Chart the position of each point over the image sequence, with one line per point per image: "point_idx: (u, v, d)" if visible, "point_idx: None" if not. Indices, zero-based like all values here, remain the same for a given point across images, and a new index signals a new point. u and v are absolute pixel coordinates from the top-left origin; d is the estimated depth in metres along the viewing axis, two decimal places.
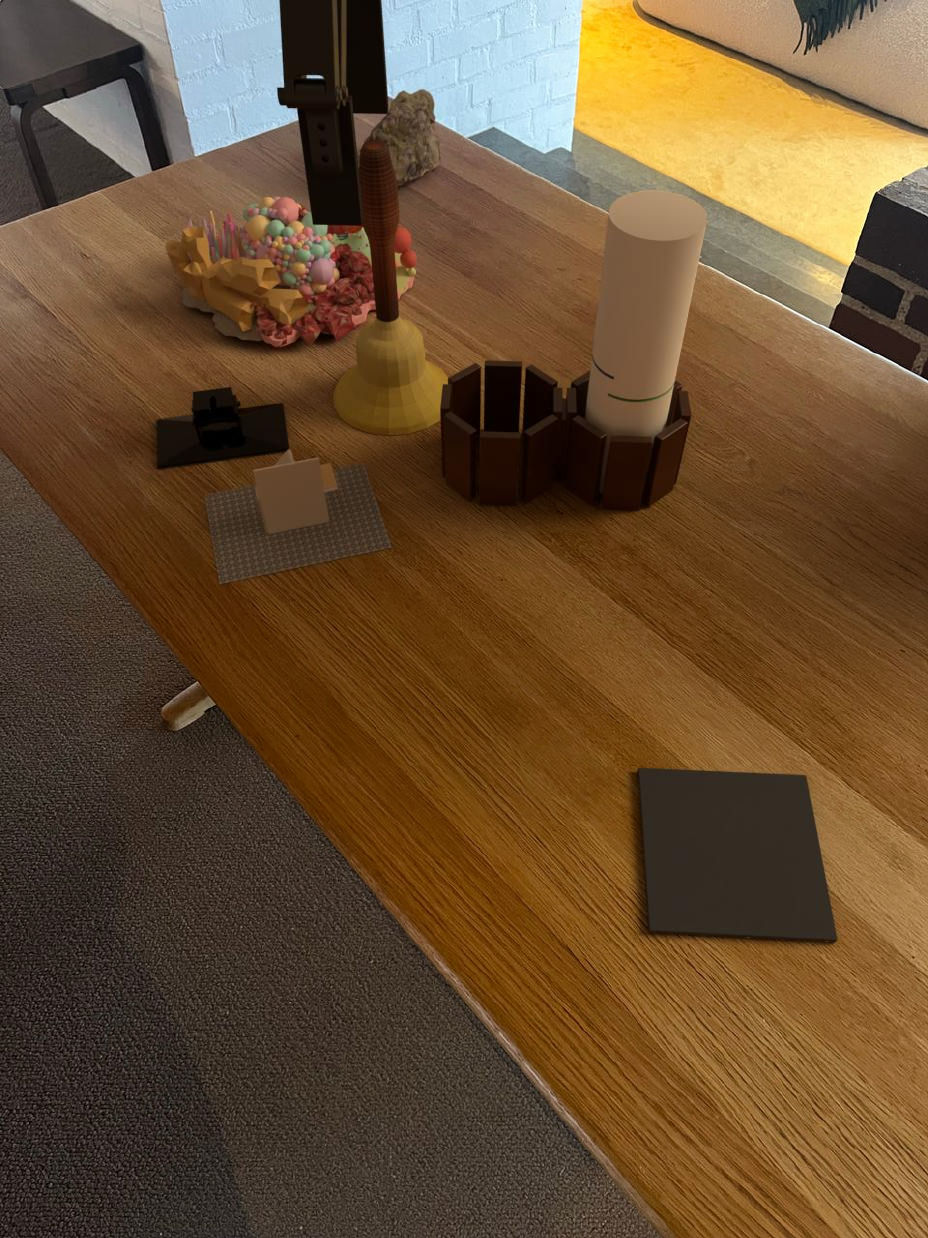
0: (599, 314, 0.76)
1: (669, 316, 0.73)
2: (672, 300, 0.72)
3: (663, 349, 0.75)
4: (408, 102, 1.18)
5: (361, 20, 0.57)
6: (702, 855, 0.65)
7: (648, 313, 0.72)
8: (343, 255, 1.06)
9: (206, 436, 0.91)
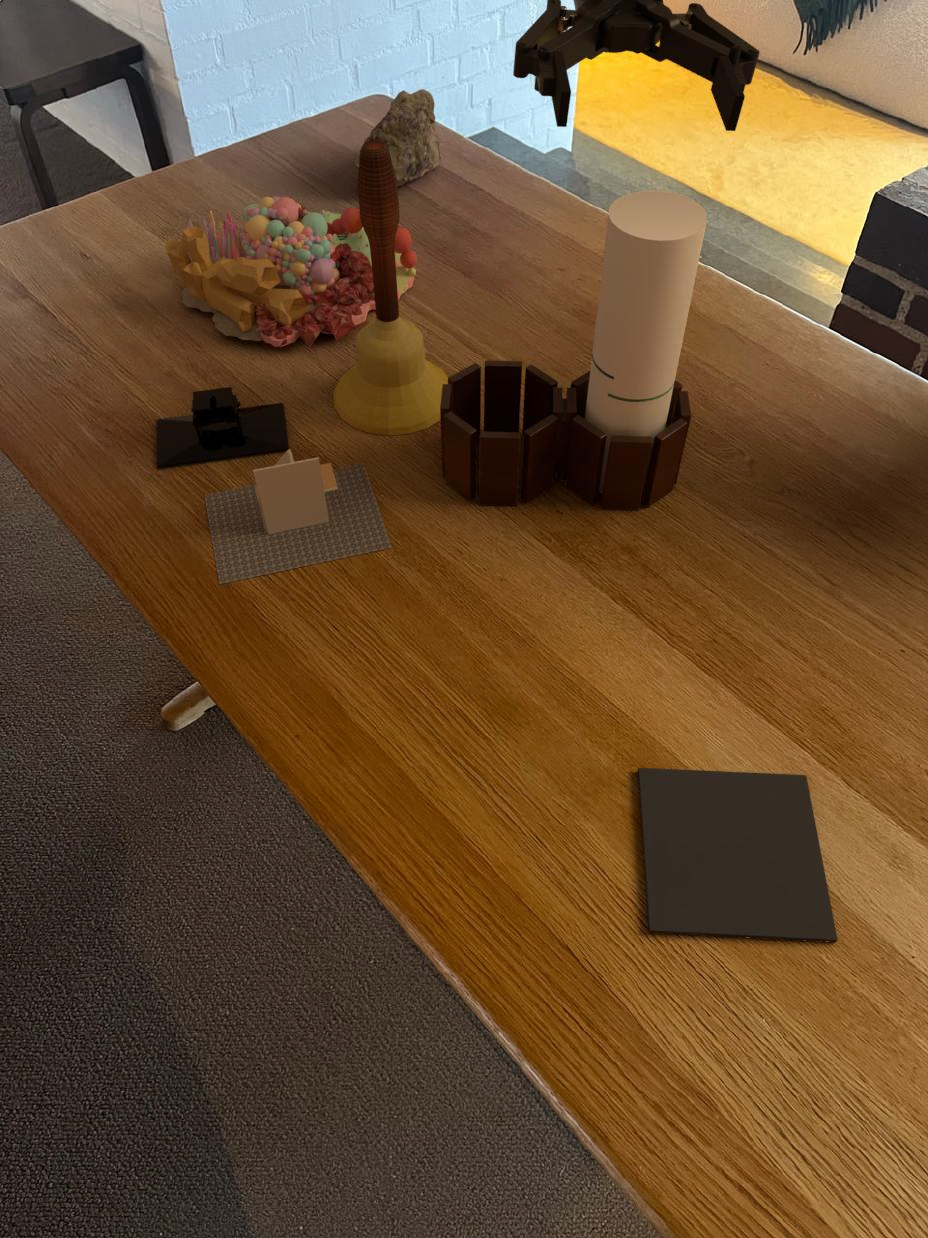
0: (599, 314, 0.76)
1: (669, 316, 0.73)
2: (672, 300, 0.72)
3: (663, 349, 0.75)
4: (408, 102, 1.18)
5: (717, 77, 0.78)
6: (702, 855, 0.65)
7: (648, 313, 0.72)
8: (343, 255, 1.06)
9: (206, 436, 0.91)
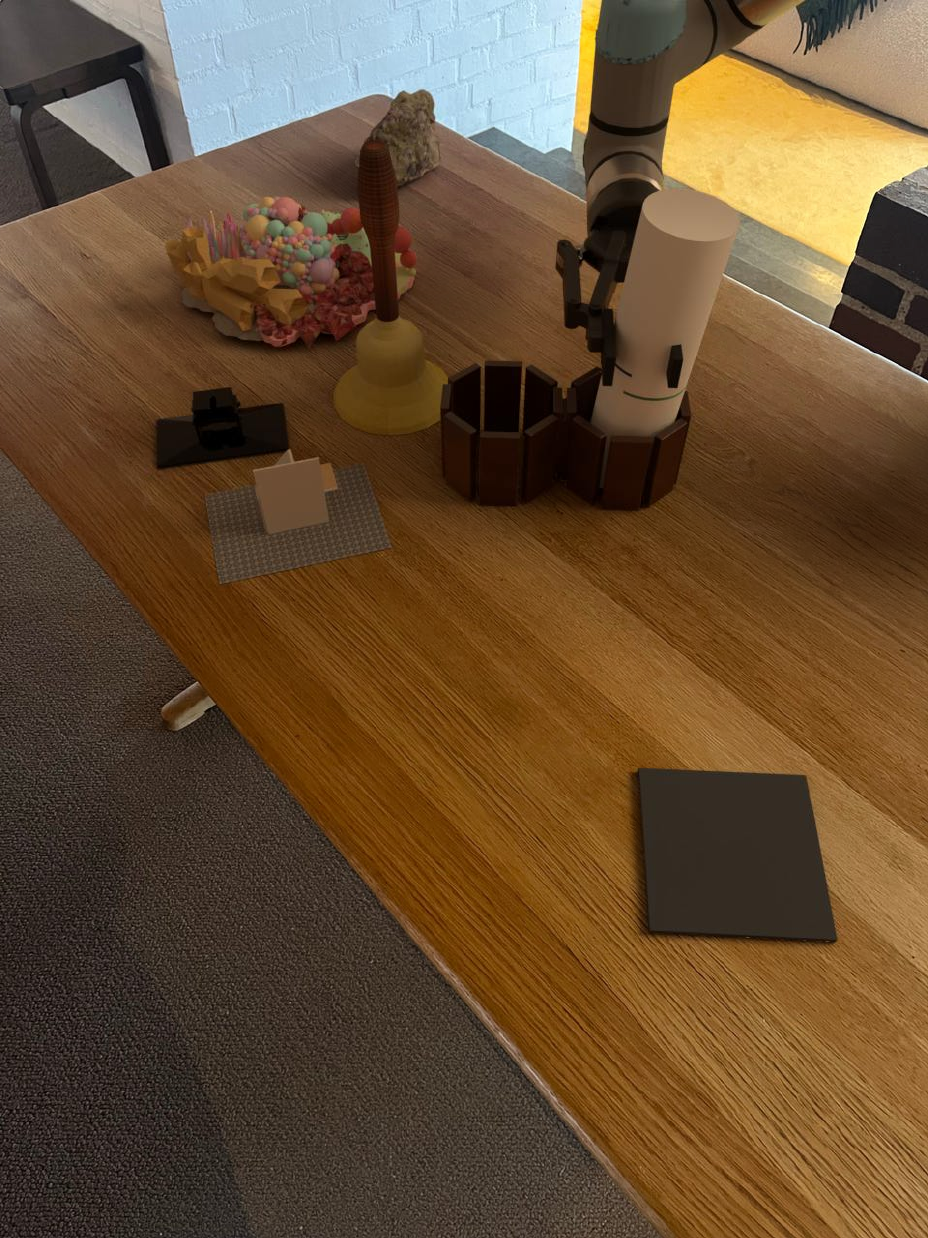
0: (622, 311, 0.75)
1: (695, 316, 0.73)
2: (700, 301, 0.72)
3: (684, 349, 0.75)
4: (408, 102, 1.18)
5: None
6: (702, 855, 0.65)
7: (675, 312, 0.72)
8: (343, 255, 1.06)
9: (206, 436, 0.91)
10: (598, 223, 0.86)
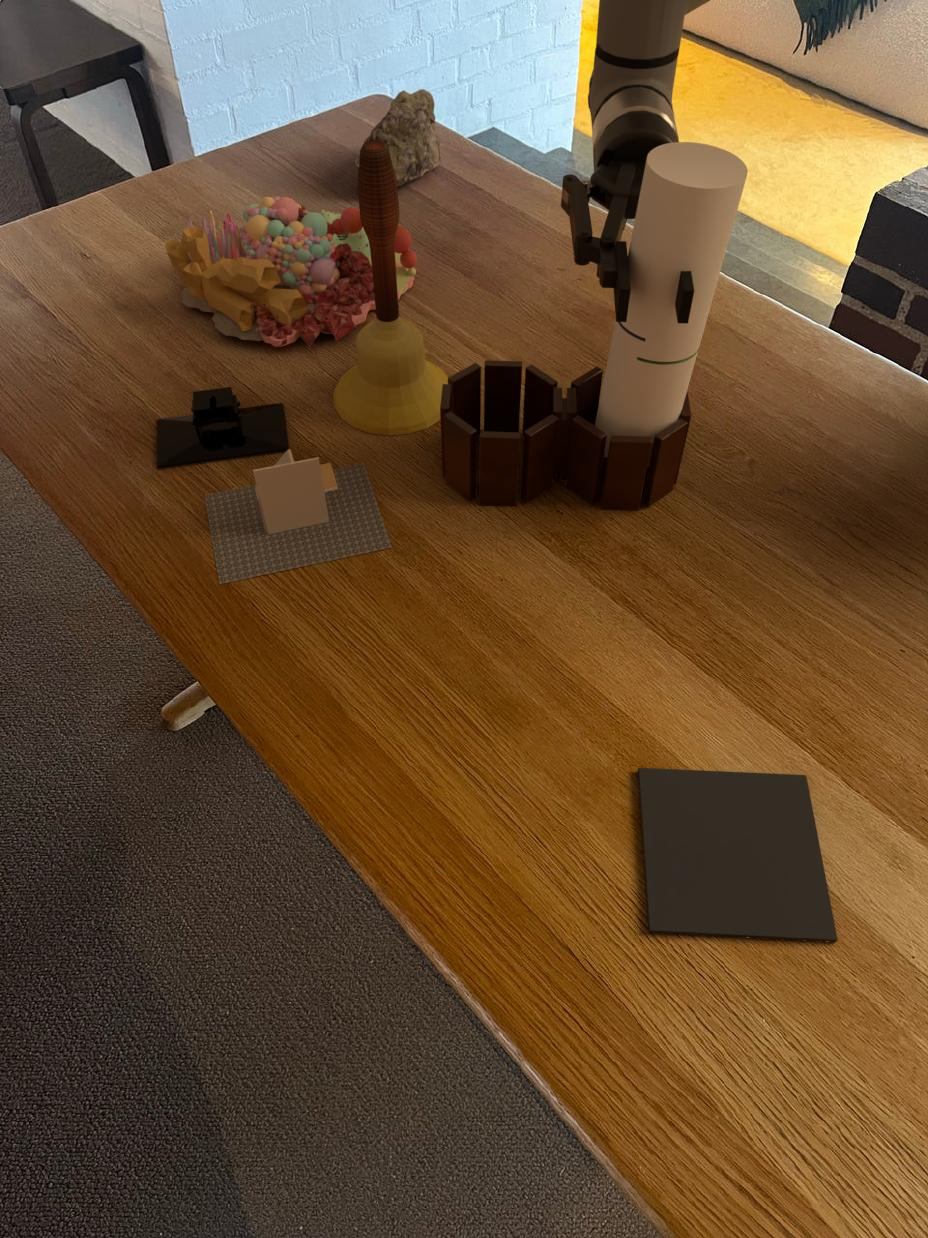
0: (631, 273, 0.73)
1: (708, 270, 0.71)
2: (712, 253, 0.70)
3: (698, 307, 0.73)
4: (408, 102, 1.18)
5: None
6: (702, 855, 0.65)
7: (688, 268, 0.70)
8: (343, 255, 1.06)
9: (206, 436, 0.91)
10: (606, 158, 0.82)
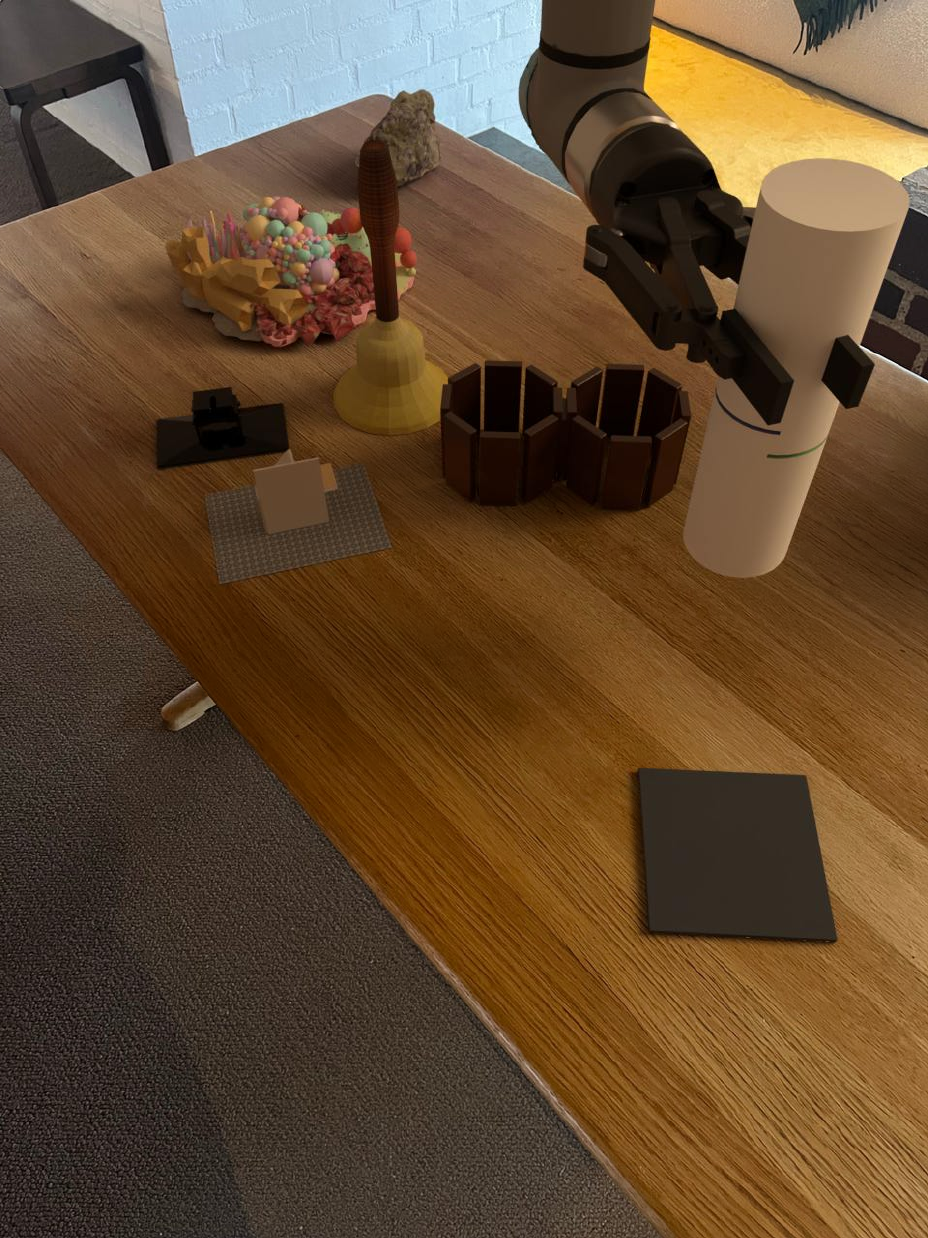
0: None
1: (863, 328, 0.51)
2: (871, 306, 0.50)
3: None
4: (408, 102, 1.18)
5: None
6: (702, 855, 0.65)
7: (844, 333, 0.50)
8: (343, 255, 1.06)
9: (206, 436, 0.91)
10: (621, 193, 0.60)
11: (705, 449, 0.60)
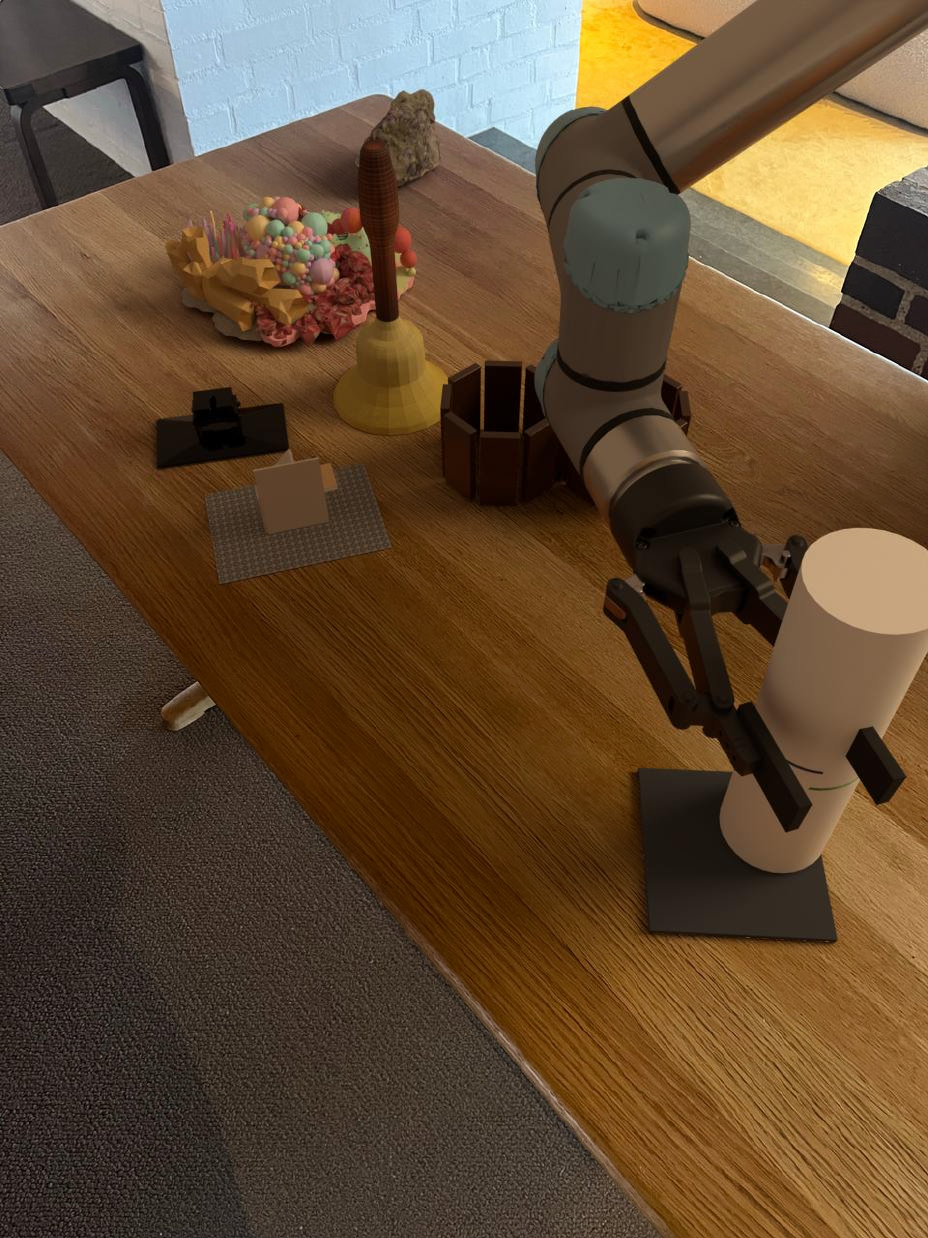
0: (793, 709, 0.52)
1: None
2: (915, 674, 0.49)
3: None
4: (408, 102, 1.18)
5: None
6: (702, 855, 0.65)
7: (889, 702, 0.49)
8: (343, 255, 1.06)
9: (206, 436, 0.91)
10: (641, 533, 0.60)
11: None
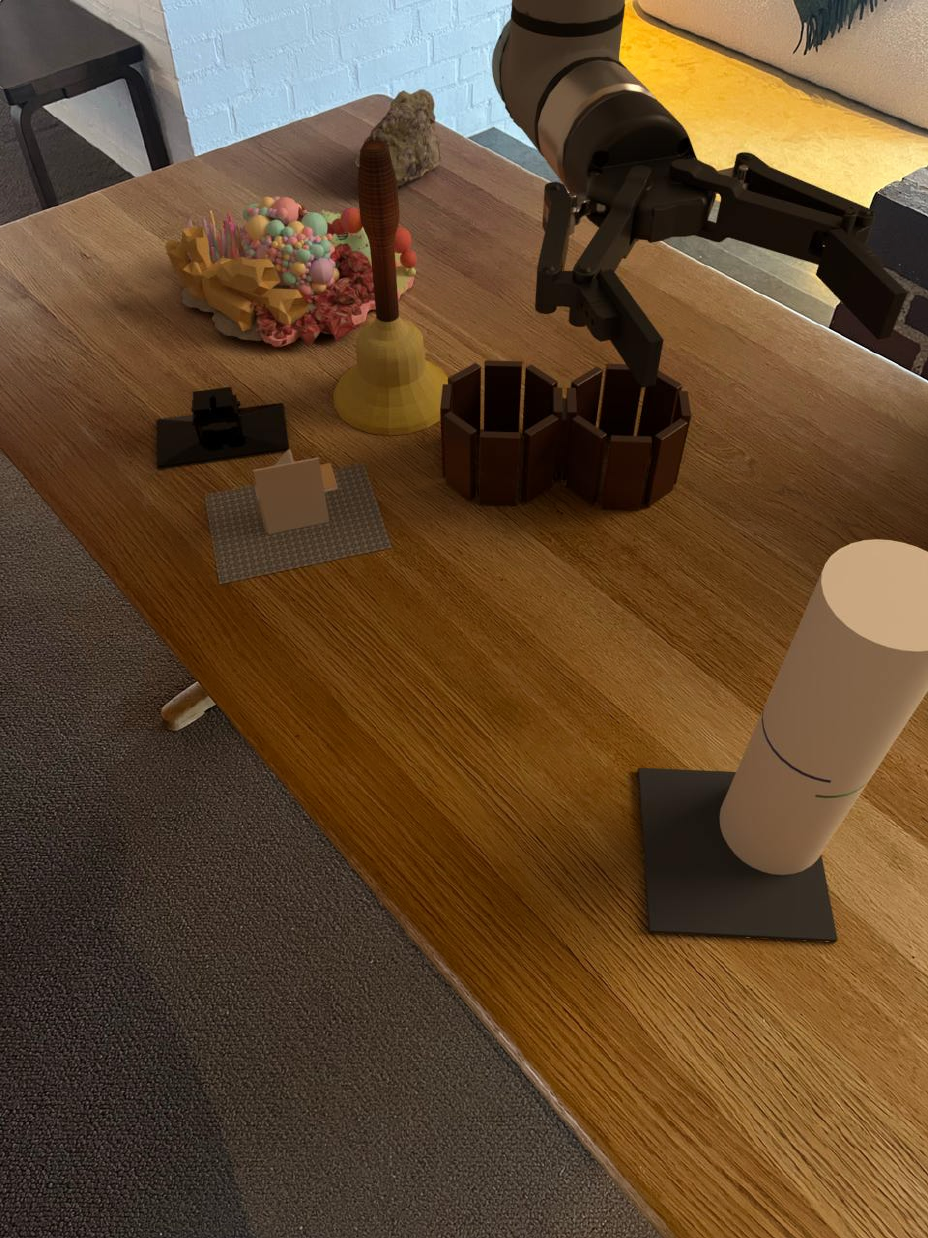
0: (805, 719, 0.52)
1: None
2: None
3: None
4: (408, 102, 1.18)
5: (833, 260, 0.53)
6: (702, 855, 0.65)
7: (902, 715, 0.49)
8: (343, 255, 1.06)
9: (206, 436, 0.91)
10: (594, 163, 0.58)
11: (749, 767, 0.59)
